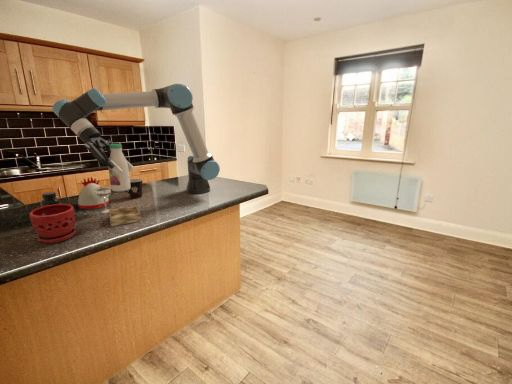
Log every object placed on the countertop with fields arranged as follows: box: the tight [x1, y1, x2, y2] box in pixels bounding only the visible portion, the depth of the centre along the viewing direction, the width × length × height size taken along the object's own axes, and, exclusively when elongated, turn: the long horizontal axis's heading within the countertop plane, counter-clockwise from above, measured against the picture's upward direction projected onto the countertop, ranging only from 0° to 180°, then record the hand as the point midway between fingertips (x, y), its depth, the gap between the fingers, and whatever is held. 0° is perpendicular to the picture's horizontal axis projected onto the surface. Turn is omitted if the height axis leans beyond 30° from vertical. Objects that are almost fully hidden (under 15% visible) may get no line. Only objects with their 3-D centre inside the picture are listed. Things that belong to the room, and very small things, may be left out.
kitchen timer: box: [77, 176, 110, 210], centre depth 135 cm, size 14×14×15 cm
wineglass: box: [95, 185, 112, 214], centre depth 125 cm, size 7×7×12 cm
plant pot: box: [29, 203, 77, 244], centre depth 96 cm, size 13×13×12 cm
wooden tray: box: [108, 205, 142, 227], centre depth 117 cm, size 12×12×4 cm
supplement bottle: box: [40, 191, 61, 216], centre depth 115 cm, size 7×7×12 cm
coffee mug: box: [124, 178, 143, 200], centre depth 150 cm, size 12×9×10 cm
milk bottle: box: [107, 143, 131, 192], centre depth 111 cm, size 8×8×20 cm
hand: (126, 171), depth 111 cm, fingers closed on milk bottle, 7 cm apart
